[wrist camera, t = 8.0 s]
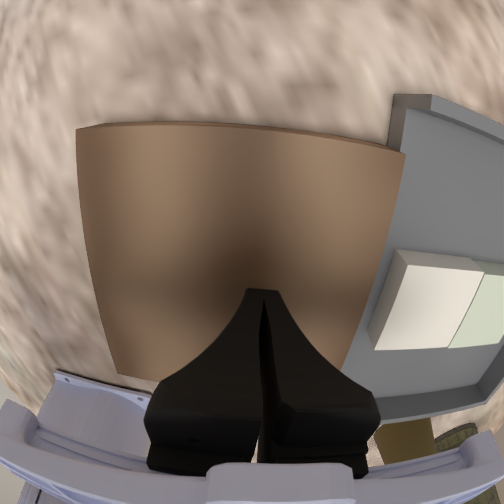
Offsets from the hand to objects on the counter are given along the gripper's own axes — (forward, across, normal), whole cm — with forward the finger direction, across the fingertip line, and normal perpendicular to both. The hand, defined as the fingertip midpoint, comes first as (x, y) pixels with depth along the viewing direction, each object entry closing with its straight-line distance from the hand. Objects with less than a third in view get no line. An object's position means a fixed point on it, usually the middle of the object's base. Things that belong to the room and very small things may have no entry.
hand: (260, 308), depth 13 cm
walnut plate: (+3, +2, 0) cm, 4 cm away
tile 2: (+2, -9, 0) cm, 9 cm away
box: (+3, -13, 0) cm, 13 cm away
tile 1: (+2, -14, 0) cm, 14 cm away
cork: (+3, -16, +17) cm, 24 cm away
